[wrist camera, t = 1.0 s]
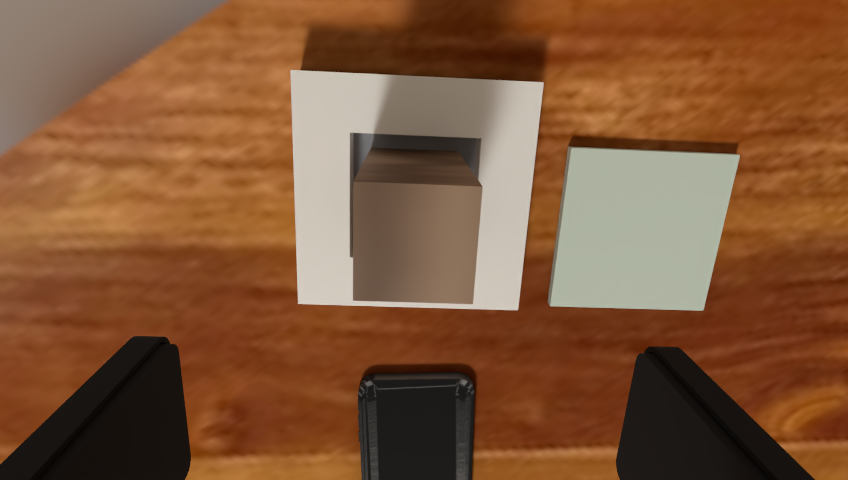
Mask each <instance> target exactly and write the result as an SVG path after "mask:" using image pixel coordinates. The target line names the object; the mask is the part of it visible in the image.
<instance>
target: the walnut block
mask: <svg viewBox="0 0 848 480" xmlns="http://www.w3.org/2000/svg"><path fill="white" fill-rule="evenodd" d="M482 189H483V186H482V185H481V183H480V182H479V181H478V179H477V178H476V176H475V175H474V173H473V172H472V171H471V169H470V168H469V166H468V165H467V163H466V162H465V160H464V159H463V158H462V156H461V155H460V153H459V152H458V151H441V150H417V149H393V148H371V149H370V151H369V153H368V155H367V156H366V158H365V160H364V162H363V164H362V166H361V168H360V170H359V172H358V174H357V176H356V177H355V179H354V181H353V301H380V302H414V303H449V304H473V298H474V286H475V273H476V261H477V249H478V237H479V225H480V213H481V201H482Z"/></svg>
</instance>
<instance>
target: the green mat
mask: <svg viewBox="0 0 848 480" xmlns="http://www.w3.org/2000/svg"><path fill="white" fill-rule="evenodd" d="M739 157H740V155H738V154H731V153H708V152H685V151H662V150H639V149H616V148H593V147H570V146H568V152H567V159H566V167H565V175H564V182H563V190H562V197H561V205H560V212H559V220H558V228H557V235H556V243H555V250H554V258H553V265H552V273H551V281H550V288H549V296H548V303H549V305H550V306H563V307H597V308H632V309H666V310H700V311H703V310H704V306H705V301H706V297H707V293H708V289H709V284H710V280H711V276H712V272H713V267H714V263H715V259H716V255H717V250H718V246H719V242H720V238H721V233H722V229H723V225H724V221H725V216H726V212H727V208H728V204H729V199H730V195H731V191H732V187H733V183H734V178H735V174H736V170H737V166H738V161H739Z"/></svg>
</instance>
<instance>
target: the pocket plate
mask: <svg viewBox="0 0 848 480" xmlns="http://www.w3.org/2000/svg"><path fill="white" fill-rule="evenodd" d="M543 84H544V82H527V81H507V80H486V79H466V78H446V77H425V76H405V75H384V74H364V73H343V72H323V71H302V70H291V99H292V130H293V161H294V192H295V223H296V254H297V285H298V304H319V305H353V306H388V307H423V308H458V309H492V310H518V305H519V296H520V288H521V279H522V270H523V261H524V252H525V243H526V234H527V226H528V217H529V208H530V199H531V190H532V181H533V173H534V164H535V155H536V146H537V137H538V128H539V119H540V111H541V102H542V93H543ZM371 148H393V149H417V150H441V151H458V152H459V153H460V155H461V156H462V158H463V159H464V160H465V162H466V163H467V165H468V166H469V168H470V169H471V171H472V172H473V173H474V175H475V176H476V178H477V179H478V181H479V182H480V183H481V185H482V186H483V189H482V201H481V213H480V225H479V237H478V249H477V261H476V273H475V286H474V298H473V304H449V303H414V302H380V301H353V181H354V179H355V177H356V176H357V174H358V172H359V170H360V168H361V166H362V164H363V162H364V160H365V158H366V156H367V155H368V153H369V151H370V149H371Z"/></svg>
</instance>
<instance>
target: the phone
mask: <svg viewBox="0 0 848 480" xmlns="http://www.w3.org/2000/svg"><path fill="white" fill-rule="evenodd" d="M474 396H475V393H474V387H473V382H472V380H471V379H470V378H469V377H468V376H467V375H465V374H463V373H458V372H444V373H379V374H370V375H368V376H366V377H365V378H364V379H363V380H362V381H361V383H360V387H359V393H358V410H359V416H358V419H359V428H360V430H359V442H360V448H361V471H362V480H471V475H472V449H473V423H474Z"/></svg>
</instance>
